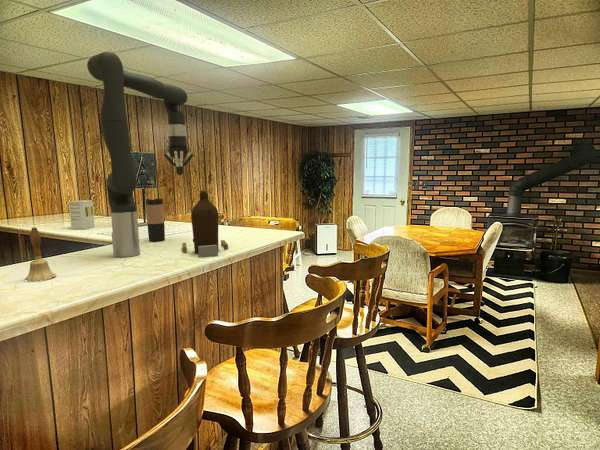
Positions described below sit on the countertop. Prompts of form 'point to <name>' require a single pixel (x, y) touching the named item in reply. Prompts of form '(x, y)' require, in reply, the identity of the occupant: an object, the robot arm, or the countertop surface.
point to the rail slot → (221, 244)
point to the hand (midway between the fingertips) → (179, 175)
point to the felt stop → (208, 250)
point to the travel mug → (155, 220)
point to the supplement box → (81, 214)
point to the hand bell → (38, 261)
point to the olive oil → (204, 222)
